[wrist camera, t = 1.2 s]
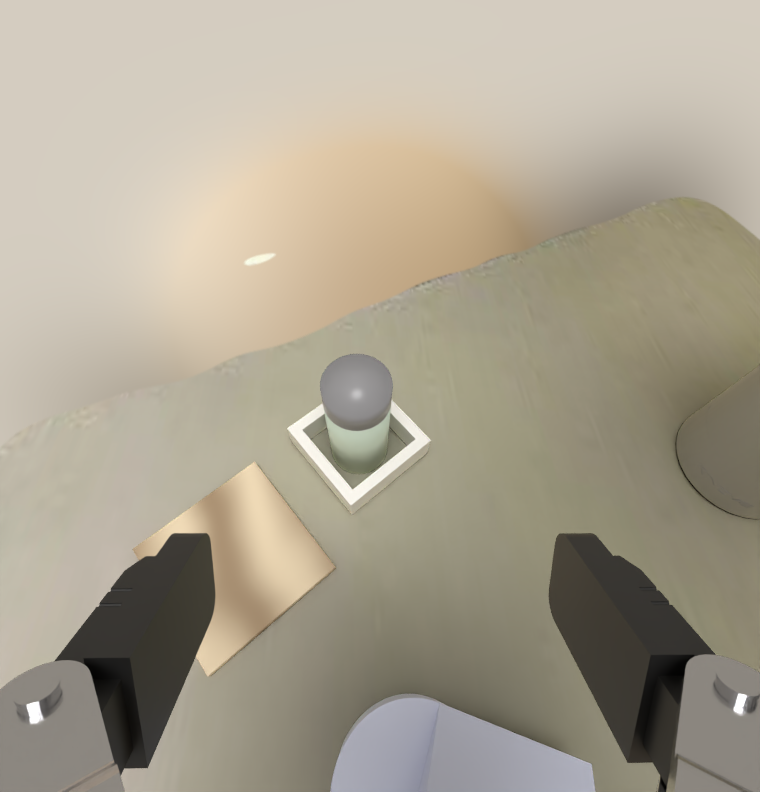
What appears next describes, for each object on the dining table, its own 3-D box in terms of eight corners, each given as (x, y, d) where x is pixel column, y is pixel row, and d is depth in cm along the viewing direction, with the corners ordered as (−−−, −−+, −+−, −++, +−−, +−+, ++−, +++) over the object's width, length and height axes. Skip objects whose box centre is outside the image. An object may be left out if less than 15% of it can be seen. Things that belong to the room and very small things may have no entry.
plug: (363, 412, 39) (361, 342, 30) (398, 450, 38) (407, 388, 29) (320, 444, 38) (305, 380, 29) (355, 485, 36) (350, 430, 27)
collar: (365, 388, 40) (365, 372, 38) (427, 452, 38) (430, 440, 35) (291, 441, 38) (287, 428, 36) (352, 514, 35) (350, 505, 33)
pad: (256, 464, 37) (254, 461, 36) (336, 568, 33) (335, 567, 33) (136, 550, 34) (132, 549, 33) (210, 676, 30) (207, 676, 30)
